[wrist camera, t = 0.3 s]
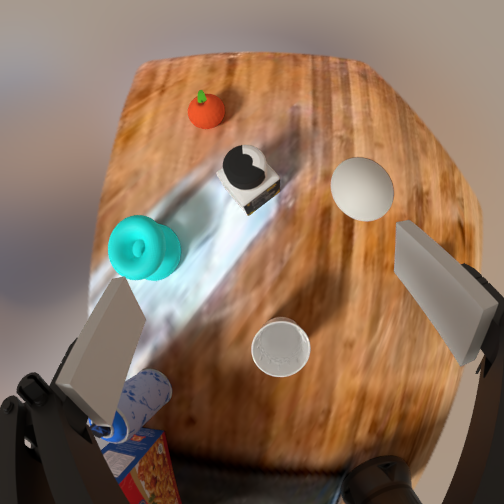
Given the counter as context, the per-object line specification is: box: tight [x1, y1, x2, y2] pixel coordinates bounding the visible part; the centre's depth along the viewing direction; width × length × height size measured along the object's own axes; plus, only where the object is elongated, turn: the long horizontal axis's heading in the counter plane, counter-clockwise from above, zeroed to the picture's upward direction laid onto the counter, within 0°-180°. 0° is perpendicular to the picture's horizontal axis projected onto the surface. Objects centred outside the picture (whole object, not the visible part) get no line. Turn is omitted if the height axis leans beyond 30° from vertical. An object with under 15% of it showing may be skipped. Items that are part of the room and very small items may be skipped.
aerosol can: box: [88, 369, 172, 444], centre depth 38 cm, size 8×8×20 cm
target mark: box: [331, 157, 394, 221], centre depth 48 cm, size 12×12×1 cm
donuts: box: [108, 215, 181, 281], centre depth 45 cm, size 10×10×10 cm
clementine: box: [188, 90, 225, 129], centre depth 49 cm, size 8×7×7 cm
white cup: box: [251, 317, 310, 377], centre depth 42 cm, size 8×8×10 cm
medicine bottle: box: [217, 145, 280, 216], centre depth 44 cm, size 7×7×12 cm
